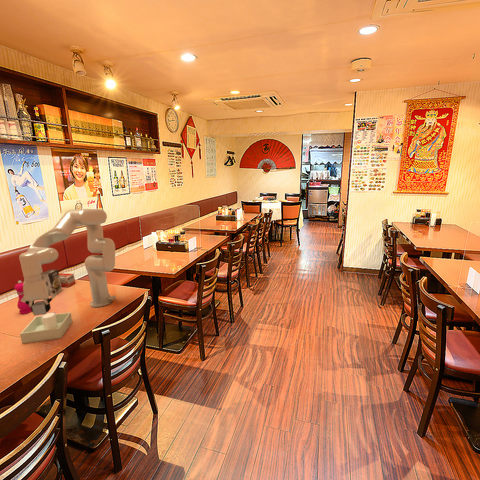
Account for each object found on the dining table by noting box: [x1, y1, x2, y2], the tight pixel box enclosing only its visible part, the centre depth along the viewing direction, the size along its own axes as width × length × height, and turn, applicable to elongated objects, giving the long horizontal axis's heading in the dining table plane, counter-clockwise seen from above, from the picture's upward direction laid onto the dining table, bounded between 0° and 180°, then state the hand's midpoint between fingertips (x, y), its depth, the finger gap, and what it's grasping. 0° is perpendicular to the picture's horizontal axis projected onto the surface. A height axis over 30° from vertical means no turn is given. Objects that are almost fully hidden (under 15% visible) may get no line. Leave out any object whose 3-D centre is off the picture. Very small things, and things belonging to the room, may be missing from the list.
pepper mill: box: [14, 280, 33, 315], centre depth 168 cm, size 7×7×20 cm
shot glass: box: [40, 312, 57, 330], centre depth 151 cm, size 7×7×7 cm
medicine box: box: [59, 272, 76, 289], centre depth 209 cm, size 15×8×8 cm, turn 84°
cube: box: [32, 300, 48, 317], centre depth 139 cm, size 5×5×5 cm
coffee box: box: [43, 269, 63, 296], centre depth 194 cm, size 9×6×16 cm
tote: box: [19, 311, 73, 344], centre depth 148 cm, size 17×17×6 cm
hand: (41, 311), depth 139 cm, fingers closed on cube, 5 cm apart
